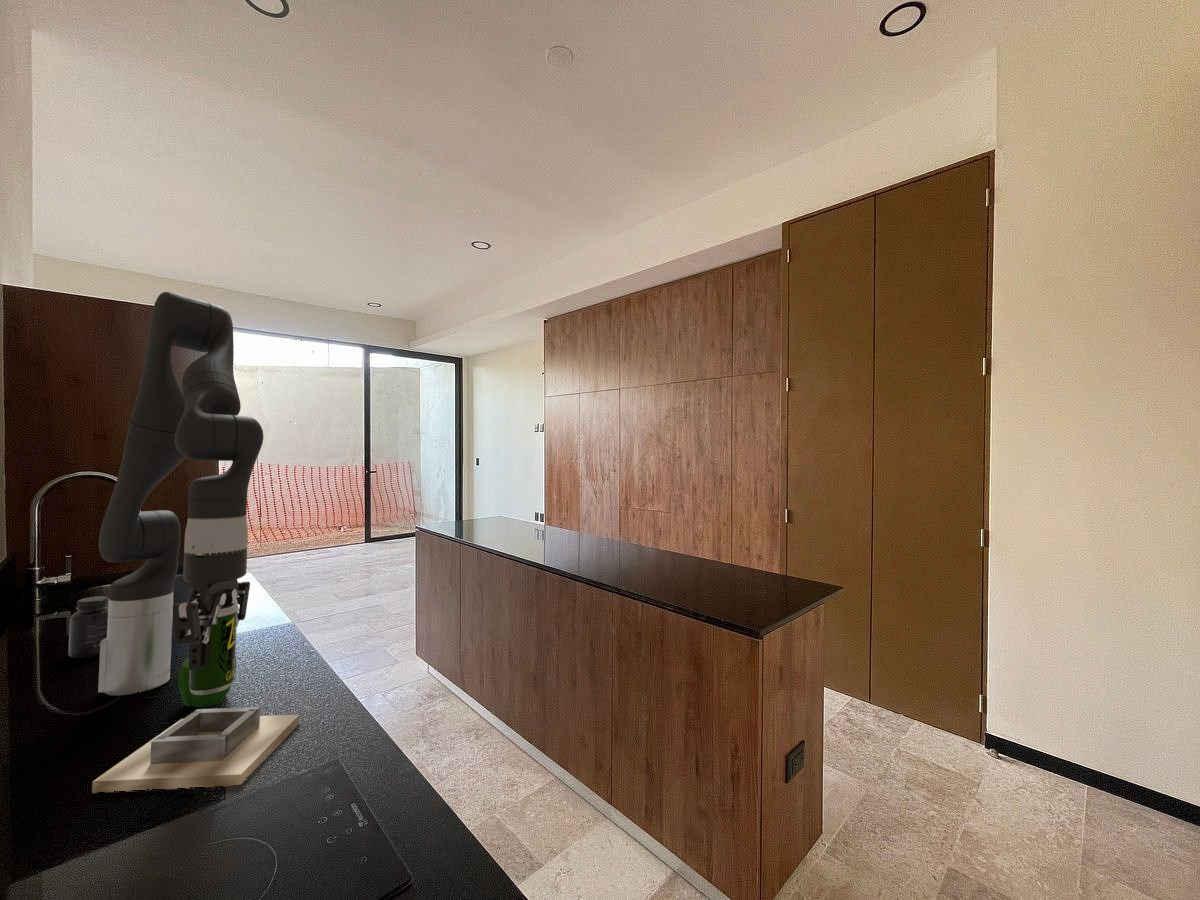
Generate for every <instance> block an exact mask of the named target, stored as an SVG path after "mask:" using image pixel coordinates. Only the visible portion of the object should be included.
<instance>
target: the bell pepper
mask: <svg viewBox="0 0 1200 900" xmlns="http://www.w3.org/2000/svg"><path fill="white" fill-rule="evenodd" d="M236 668H237V656H235V673H236ZM189 672H190V669H189V657H187V658H186V659H184V661H183V663H182V664H181V665H180V667H179V669H178V671H177V684H178V690H179V694H180V698H181V702H182V703H183V705H184V706H185V707H195V708H201V709H204V708H207V707H213V706H214V705H217V704H220V702H222V701H223V700H224V699H225V698H226V697H227V695H228V693H229V692H230V689H231V687H232V685H231V686H230V687H229V688H227V689H225V690H223V691H220V692H217V693H212V694H207V695H194V694H192V693H191V691H190V689H189Z"/></svg>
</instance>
